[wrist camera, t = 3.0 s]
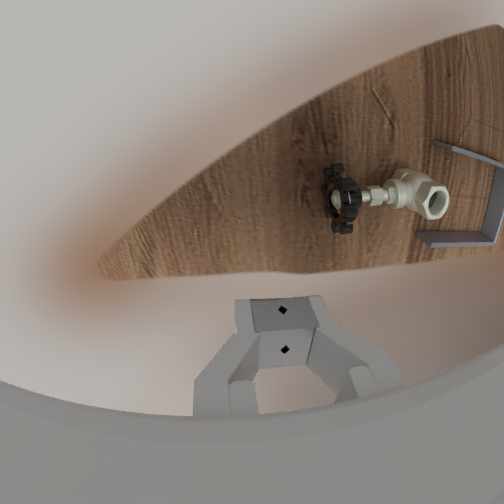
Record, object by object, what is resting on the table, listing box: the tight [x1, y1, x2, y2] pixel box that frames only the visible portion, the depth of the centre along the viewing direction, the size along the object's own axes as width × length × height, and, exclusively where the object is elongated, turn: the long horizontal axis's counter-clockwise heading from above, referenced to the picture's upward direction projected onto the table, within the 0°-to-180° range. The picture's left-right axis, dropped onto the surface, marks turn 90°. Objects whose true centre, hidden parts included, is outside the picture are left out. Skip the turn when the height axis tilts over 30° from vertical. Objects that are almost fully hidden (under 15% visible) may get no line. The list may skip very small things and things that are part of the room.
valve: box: [322, 163, 450, 235], centre depth 24 cm, size 7×7×12 cm
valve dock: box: [416, 140, 504, 247], centre depth 26 cm, size 16×12×3 cm
